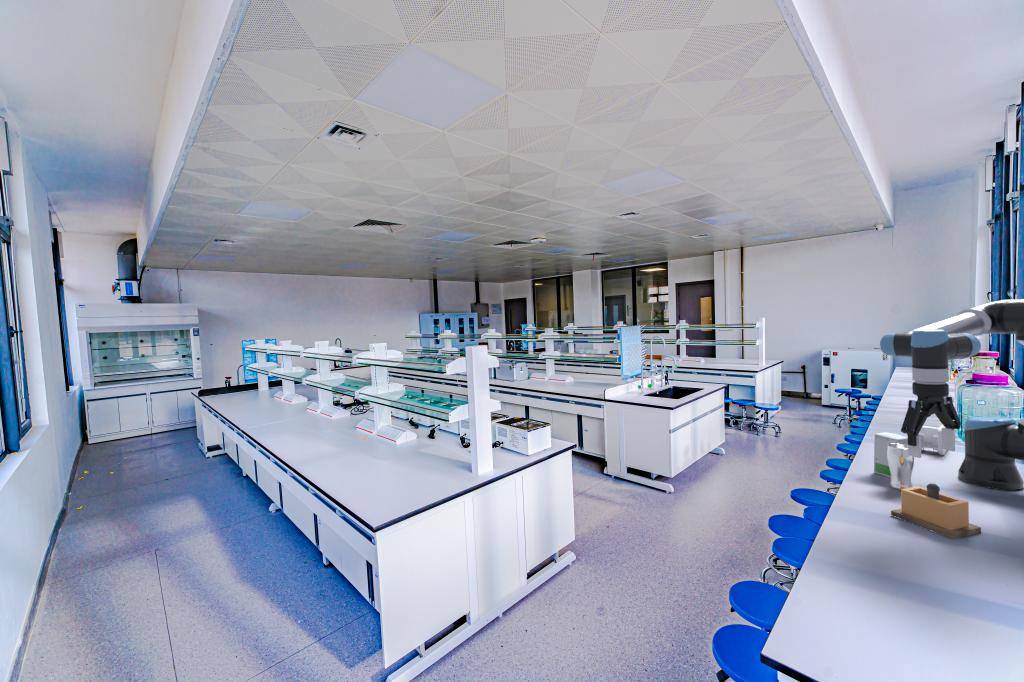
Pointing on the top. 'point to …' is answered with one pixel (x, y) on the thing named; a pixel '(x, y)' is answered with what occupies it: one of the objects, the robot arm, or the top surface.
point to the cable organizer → (932, 438)
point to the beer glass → (900, 466)
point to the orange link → (935, 508)
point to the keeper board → (952, 534)
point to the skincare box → (885, 451)
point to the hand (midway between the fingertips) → (931, 453)
